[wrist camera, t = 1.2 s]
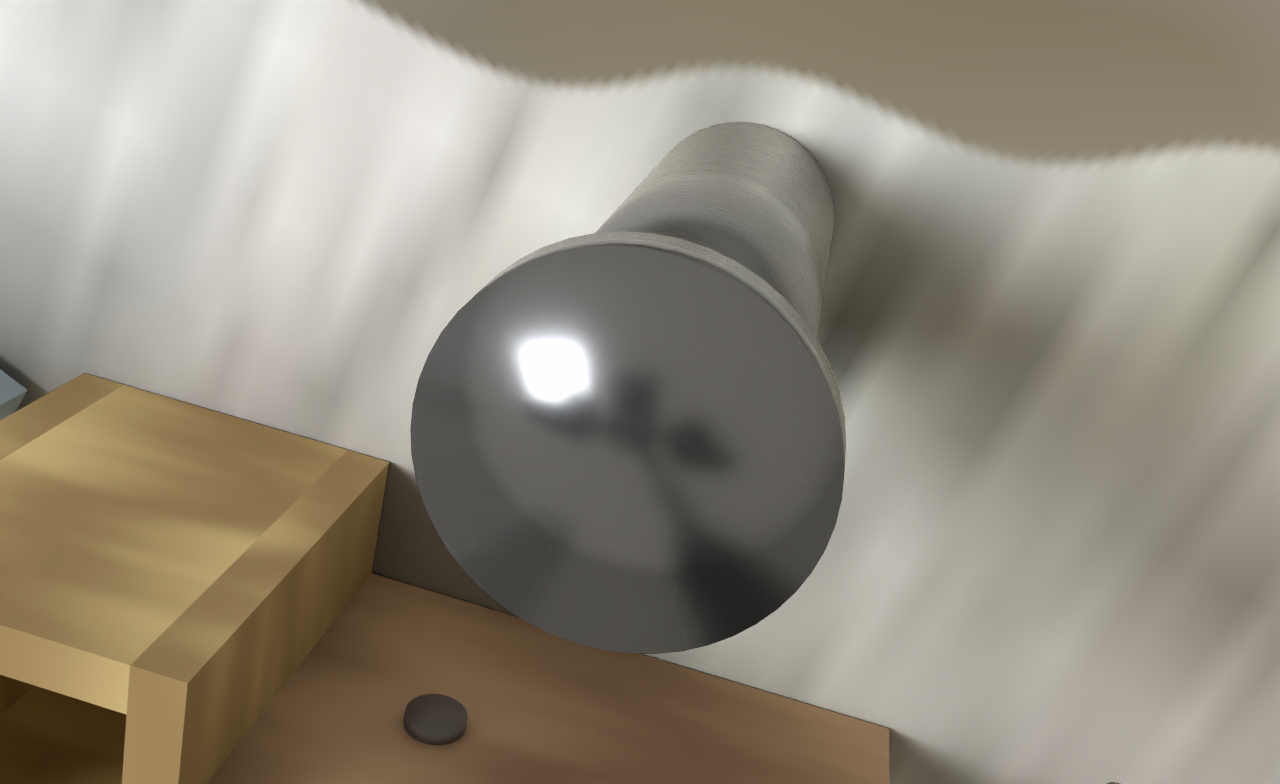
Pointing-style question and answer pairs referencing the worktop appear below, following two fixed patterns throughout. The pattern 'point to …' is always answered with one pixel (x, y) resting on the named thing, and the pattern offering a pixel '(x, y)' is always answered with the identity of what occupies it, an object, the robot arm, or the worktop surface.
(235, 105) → the worktop surface
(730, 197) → the hinge pin
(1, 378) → the swing leaf
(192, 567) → the knuckle leaf
